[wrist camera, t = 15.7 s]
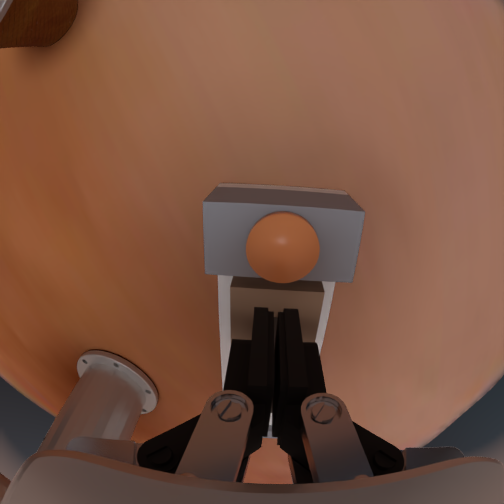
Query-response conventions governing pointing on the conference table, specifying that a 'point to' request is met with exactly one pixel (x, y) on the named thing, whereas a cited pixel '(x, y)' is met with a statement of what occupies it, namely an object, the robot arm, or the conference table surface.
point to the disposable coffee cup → (34, 21)
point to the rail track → (259, 205)
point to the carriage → (274, 304)
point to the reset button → (282, 247)
